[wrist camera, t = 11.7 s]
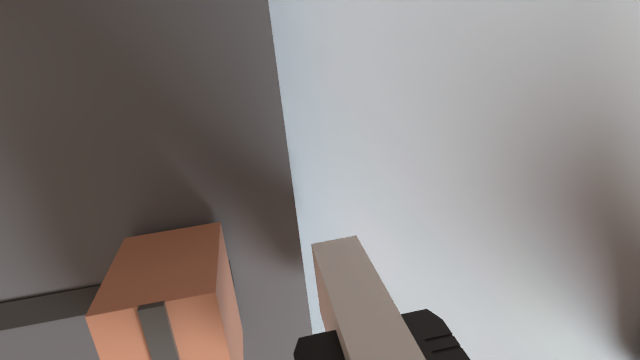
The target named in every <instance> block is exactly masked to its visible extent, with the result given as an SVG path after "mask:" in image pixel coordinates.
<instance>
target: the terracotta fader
mask: <svg viewBox="0 0 640 360" xmlns="http://www.w3.org/2000/svg"><path fill="white" fill-rule="evenodd" d="M85 319H86V322H87V324H88V327H89V330H90V333H91V336H92V338H93V341H94V344H95V347H96V350H97V352H98V355H99V358H100V360H244V359H243V330H242V325H241V320H240V315H239V310H238V305H237V300H236V295H235V290H234V285H233V280H232V276H231V271H230V266H229V261H228V256H227V251H226V246H225V241H224V236H223V231H222V226H221V222H216V223H210V224H204V225H199V226H193V227H187V228H181V229H175V230H169V231H163V232H157V233H151V234H145V235H139V236H133V237H127V238H124V240H123V242H122V244H121V246H120V248H119V250H118V252H117V254H116V256H115V258H114V260H113V262H112V264H111V266H110V268H109V270H108V272H107V274H106V276H105V278H104V280H103V282H102V284H101V286H100V288H99V290H98V292H97V294H96V296H95V298H94V300H93V302H92V304H91V306H90V308H89V310H88V312H87V314H86V316H85Z"/></svg>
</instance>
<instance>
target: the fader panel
mask: <svg viewBox="0 0 640 360" xmlns="http://www.w3.org/2000/svg"><path fill="white" fill-rule="evenodd" d="M216 222H221V226H222V231H223V236H224V241H225V246H226V251H227V256H228V261H229V266H230V271H231V276H232V280H233V285H234V290H235V295H236V300H237V305H238V310H239V315H240V320H241V325H242V330H243V359H244V360H294V355H293V353H294V350H295V347H296V344H297V341H298V338H300V337H304V336H309V335H312V328H311V320H310V313H309V305H308V298H307V290H306V283H305V275H304V268H303V261H302V253H301V246H300V238H299V231H298V223H297V216H296V208H295V201H294V193H293V186H292V178H291V171H290V163H289V156H288V148H287V141H286V133H285V126H284V118H283V111H282V103H281V96H280V88H279V81H278V73H277V66H276V58H275V51H274V43H273V36H272V28H271V21H270V13H269V6H268V0H0V360H100V358H99V355H98V352H97V350H96V347H95V344H94V341H93V338H92V336H91V333H90V330H89V327H88V324H87V322H86V319H85V316H86V314H87V312H88V310H89V308H90V306H91V304H92V302H93V300H94V298H95V296H96V294H97V292H98V290H99V288H100V286H101V284H102V282H103V280H104V278H105V276H106V274H107V272H108V270H109V268H110V266H111V264H112V262H113V260H114V258H115V256H116V254H117V252H118V250H119V248H120V246H121V244H122V242H123V240H124V238H127V237H133V236H139V235H145V234H151V233H157V232H163V231H169V230H175V229H181V228H187V227H193V226H199V225H204V224H210V223H216Z"/></svg>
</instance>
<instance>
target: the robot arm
mask: <svg viewBox="0 0 640 360" xmlns="http://www.w3.org/2000/svg"><path fill="white" fill-rule="evenodd" d="M311 245H312V253H313V260H314V268H315V275H316V282H317V290H318V297H319V305H320V312H321V316H322V320H323V323H324V327H325V330H326V332H323V333H318V334H314V335H309V336H304V337H300V338H298V341H297V344H296V347H295V350H294V353H293V355H294V360H470V359H469V357H468V356H467V354H466V353H465V351H464V350H463V349H462V348H461V347H460V344H459V343H458V341H457V340H456V338H455V337H454V336H452V333H451V331H450V330H449V328H448V327H447V325H446V324H445V323H444V321H443V320H442V319H441V318H440V317H438V316H437V315H435V314H434V313H432V312H431V311H429V310H428V309H424V310H419V311H414V312H410V313H405V314H400V312H399V311H398V309H397V307H396V305H395V304H394V302H393V300H392V298H391V296H390V295H389V293H388V291H387V289H386V288H385V286H384V284H383V282H382V280H381V279H380V277H379V275H378V273H377V272H376V270H375V268H374V266H373V264H372V263H371V261H370V259H369V257H368V256H367V254H366V252H365V250H364V248H363V247H362V245H361V243H360V241H359V240H358V238H357V236H351V237H346V238H341V239H335V240H330V241H325V242H320V243H314V244H311Z"/></svg>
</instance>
